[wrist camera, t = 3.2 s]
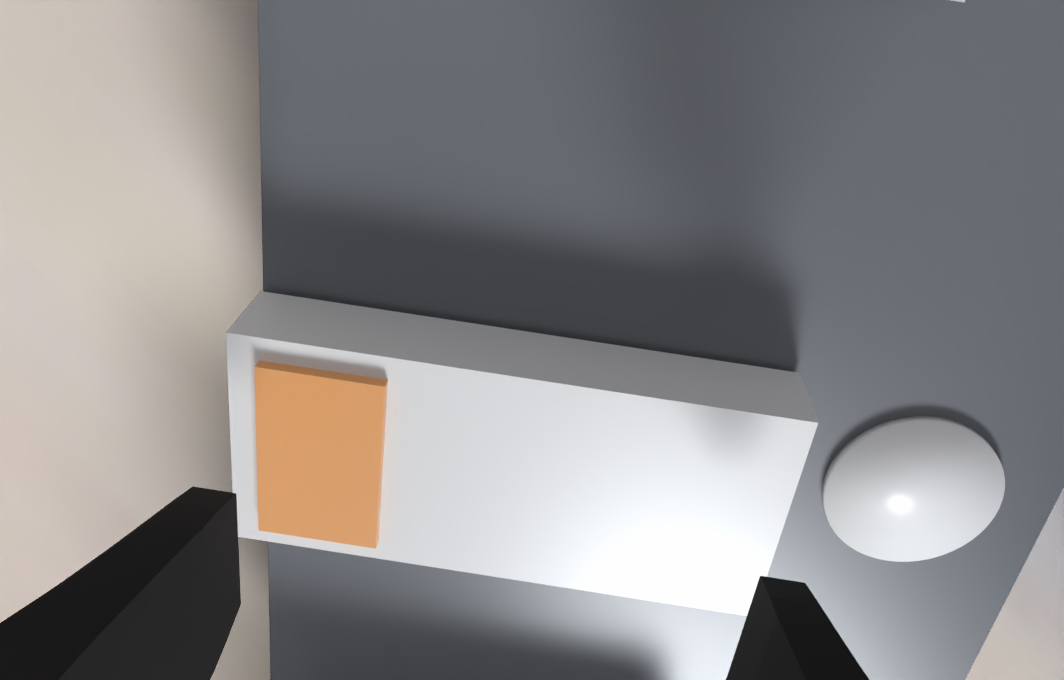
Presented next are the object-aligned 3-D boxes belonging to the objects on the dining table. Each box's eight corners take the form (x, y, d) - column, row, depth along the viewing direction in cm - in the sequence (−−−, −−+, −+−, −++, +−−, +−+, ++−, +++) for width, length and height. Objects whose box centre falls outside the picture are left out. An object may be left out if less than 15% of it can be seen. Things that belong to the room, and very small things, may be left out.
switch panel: (1382, -474, 12) (1625, -583, 9) (804, 834, 25) (828, 957, 22) (326, -618, 12) (235, -770, 9) (310, 755, 25) (271, 868, 22)
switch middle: (800, 372, 15) (820, 430, 13) (742, 557, 17) (754, 625, 15) (261, 291, 15) (220, 338, 13) (264, 483, 17) (229, 543, 15)
